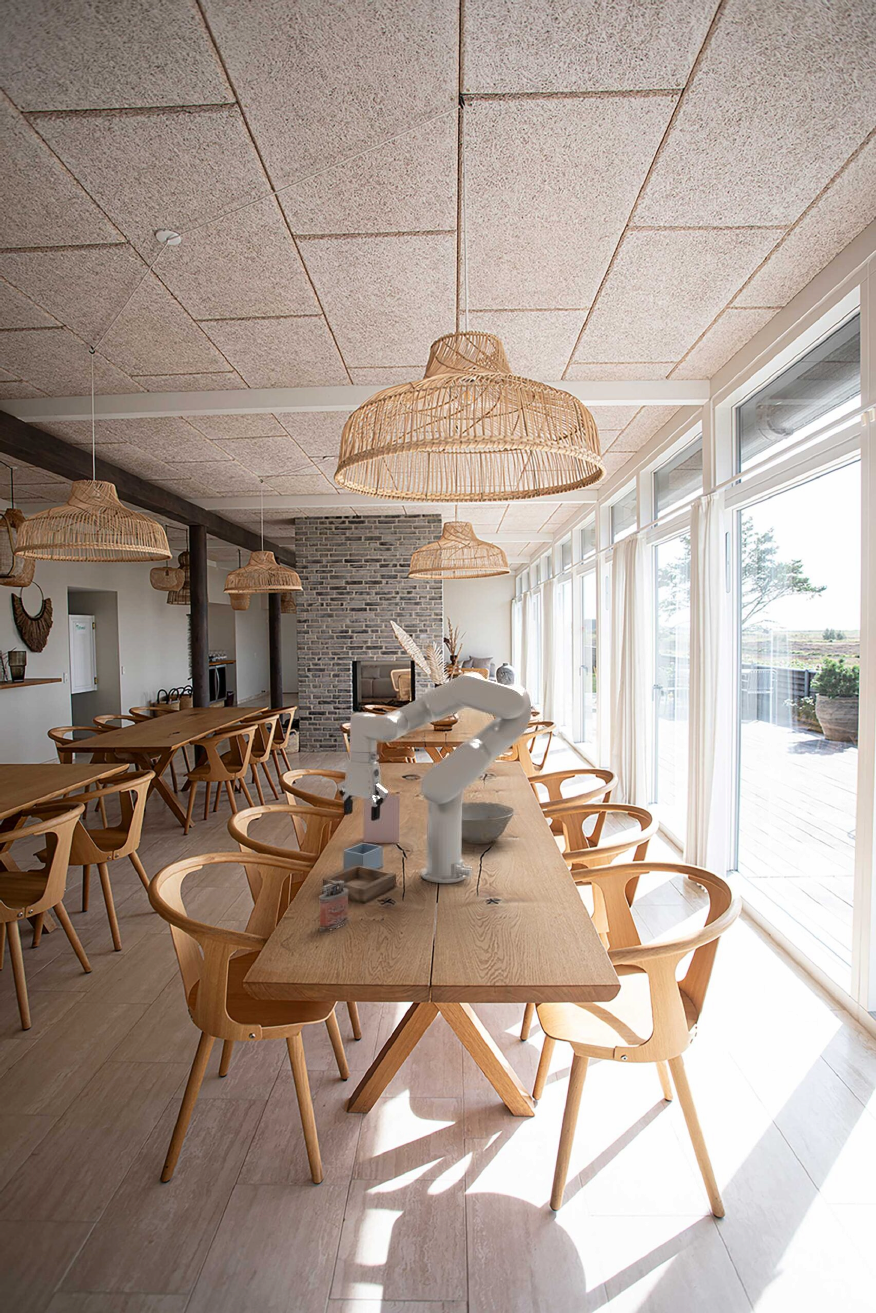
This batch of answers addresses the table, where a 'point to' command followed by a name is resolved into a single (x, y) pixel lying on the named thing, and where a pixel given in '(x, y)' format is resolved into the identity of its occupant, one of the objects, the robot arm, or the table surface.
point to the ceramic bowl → (484, 821)
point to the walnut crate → (363, 882)
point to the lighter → (333, 906)
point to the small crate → (363, 856)
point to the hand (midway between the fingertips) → (361, 816)
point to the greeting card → (382, 821)
